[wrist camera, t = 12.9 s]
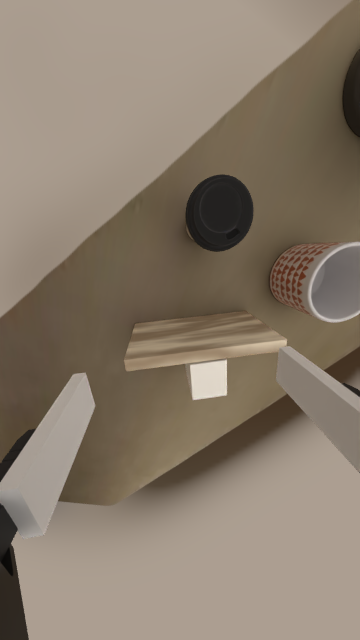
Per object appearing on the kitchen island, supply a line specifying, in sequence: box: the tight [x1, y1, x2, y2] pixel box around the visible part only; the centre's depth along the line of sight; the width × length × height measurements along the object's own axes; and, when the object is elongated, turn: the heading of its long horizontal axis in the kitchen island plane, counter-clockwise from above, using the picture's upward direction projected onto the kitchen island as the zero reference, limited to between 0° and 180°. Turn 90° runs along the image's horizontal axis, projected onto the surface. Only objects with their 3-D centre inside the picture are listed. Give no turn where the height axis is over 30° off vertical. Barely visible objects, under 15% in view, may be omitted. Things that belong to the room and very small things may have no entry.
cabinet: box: [185, 358, 227, 400], centre depth 37 cm, size 8×6×9 cm
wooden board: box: [124, 311, 287, 371], centre depth 40 cm, size 8×26×16 cm, turn 95°
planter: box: [270, 242, 360, 322], centre depth 39 cm, size 14×14×13 cm
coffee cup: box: [186, 175, 253, 252], centre depth 33 cm, size 9×9×15 cm
